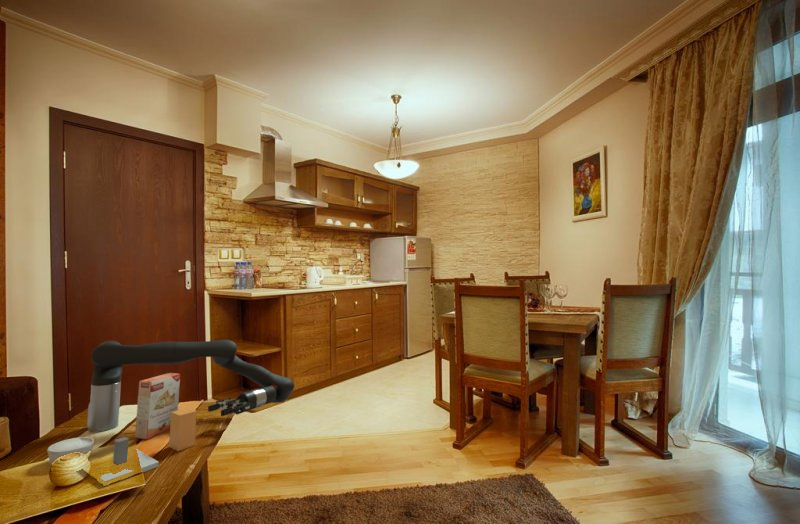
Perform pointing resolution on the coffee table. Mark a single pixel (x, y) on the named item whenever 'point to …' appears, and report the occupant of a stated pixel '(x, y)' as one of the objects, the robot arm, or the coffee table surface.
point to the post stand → (122, 456)
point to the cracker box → (156, 404)
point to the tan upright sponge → (182, 429)
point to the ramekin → (70, 447)
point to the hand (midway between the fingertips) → (214, 411)
